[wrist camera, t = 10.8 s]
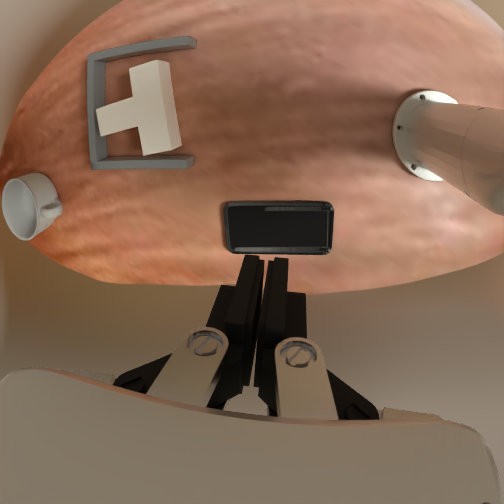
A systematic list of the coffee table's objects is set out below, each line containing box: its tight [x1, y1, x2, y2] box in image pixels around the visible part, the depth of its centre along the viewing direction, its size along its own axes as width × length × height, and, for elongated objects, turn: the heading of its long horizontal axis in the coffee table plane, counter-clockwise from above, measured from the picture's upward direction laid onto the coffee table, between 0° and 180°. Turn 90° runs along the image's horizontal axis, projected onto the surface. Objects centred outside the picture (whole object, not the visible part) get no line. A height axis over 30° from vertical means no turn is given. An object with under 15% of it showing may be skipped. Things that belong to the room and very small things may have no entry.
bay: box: [87, 36, 196, 170], centre depth 34 cm, size 15×17×3 cm
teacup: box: [2, 173, 63, 240], centre depth 41 cm, size 14×11×8 cm
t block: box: [96, 60, 182, 156], centre depth 34 cm, size 10×12×4 cm
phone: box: [224, 201, 334, 255], centre depth 42 cm, size 8×1×15 cm
